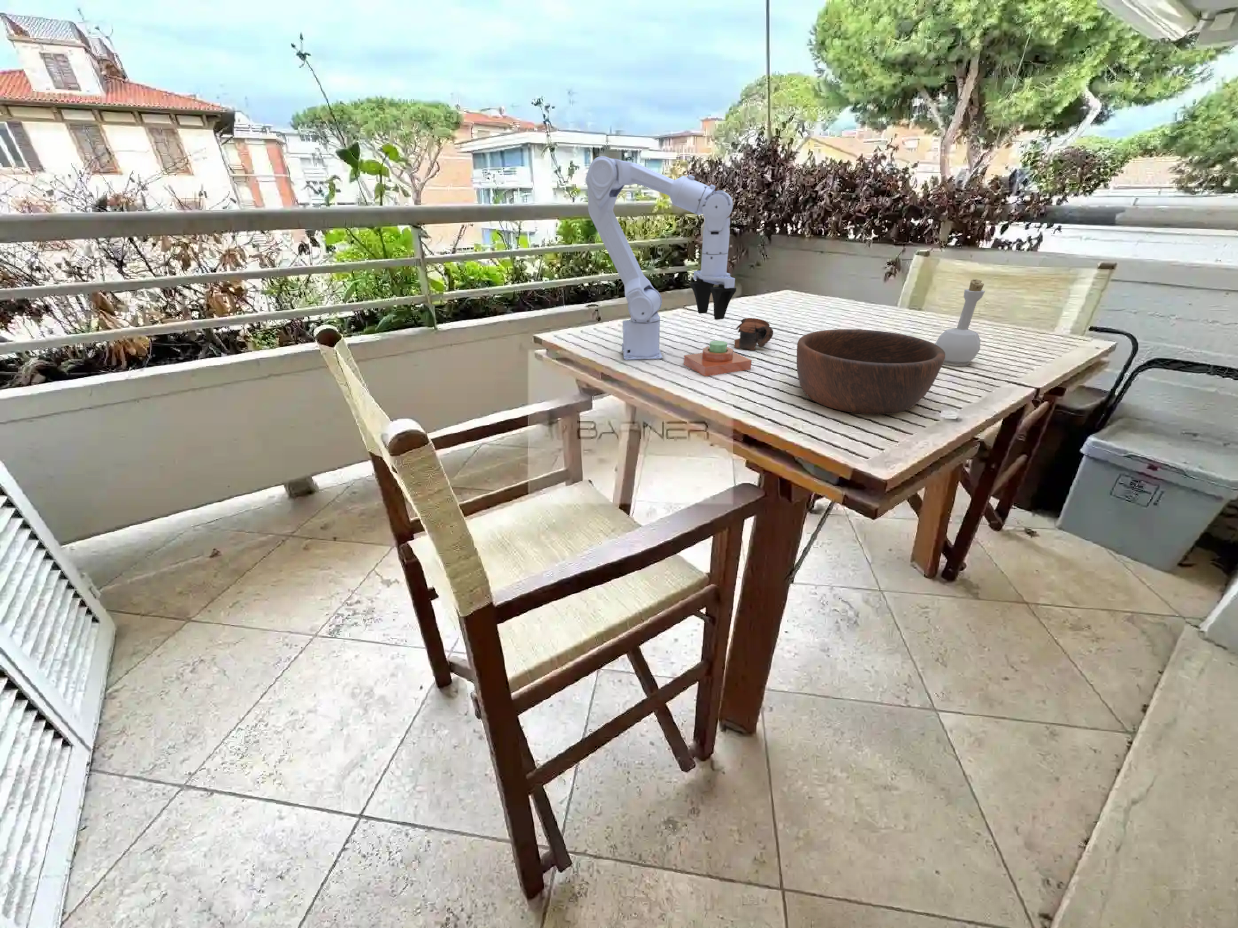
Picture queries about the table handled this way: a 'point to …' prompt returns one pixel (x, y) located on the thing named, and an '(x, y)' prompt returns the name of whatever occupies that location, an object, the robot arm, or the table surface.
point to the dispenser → (717, 362)
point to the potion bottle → (963, 331)
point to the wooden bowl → (867, 369)
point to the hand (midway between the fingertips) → (710, 316)
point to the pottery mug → (753, 333)
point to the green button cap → (718, 346)
